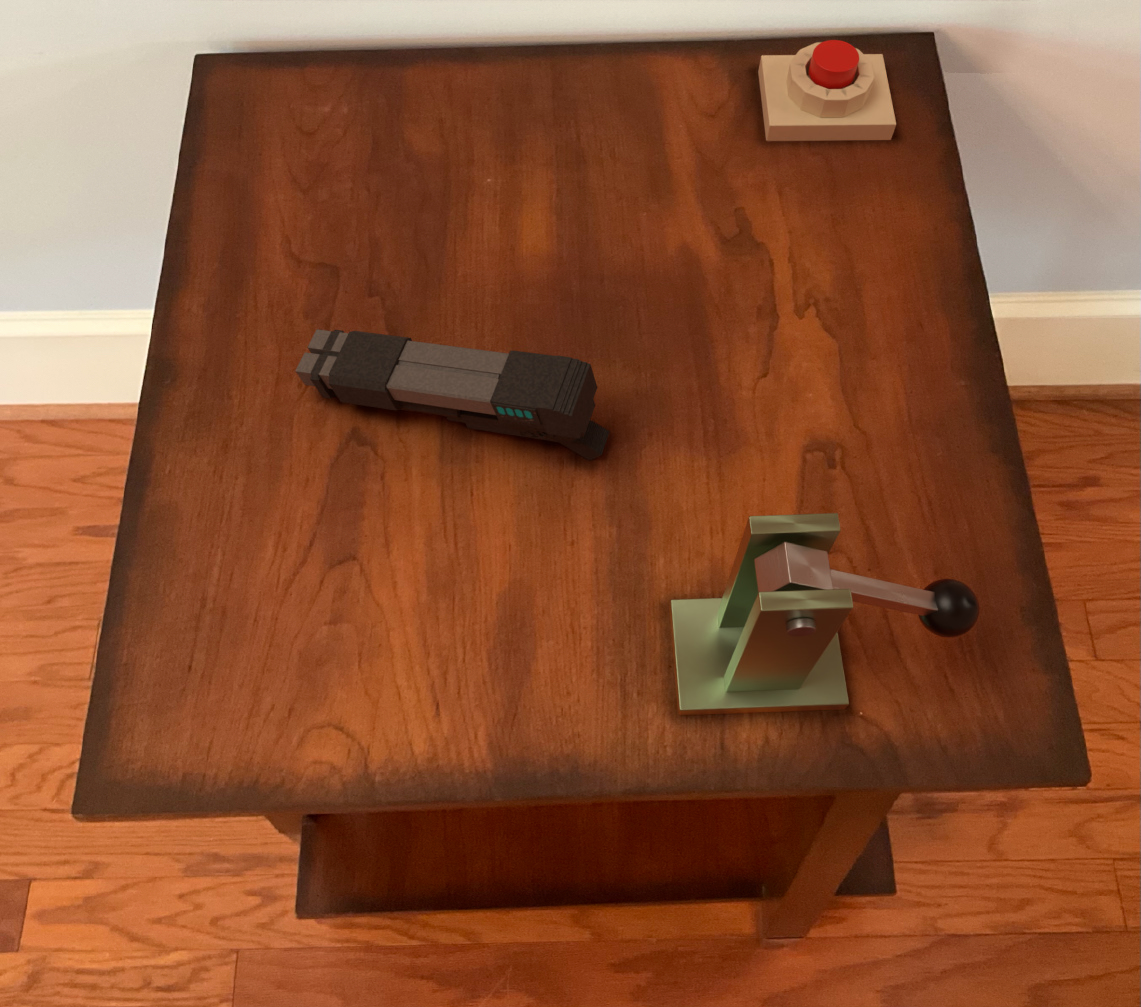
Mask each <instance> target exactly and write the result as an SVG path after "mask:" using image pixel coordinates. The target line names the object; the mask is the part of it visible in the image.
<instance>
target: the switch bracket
mask: <svg viewBox="0 0 1141 1007" xmlns="http://www.w3.org/2000/svg"><path fill="white" fill-rule="evenodd" d="M839 517H840V516H839V514H838V512H827V513H825V512H823V513H800V514H799V513H798V514H771V515H769V514H768V515H749V516H748V519H747V522H746V524H745V527H744V531H743V534H742V538H741V540H740V543H739V546H738V549H737V552H736V555H735V559H734V561H733V565H732V567H731V570H730V573H729V575H728V576H729V577H728V579H727V582H726V585H725V589H724V592H723V594H722V597H705V598H703V597H702V598H676V599H675V598H673V599H670V600H669V604H668V608H669V610H668V611H669V621H670V623H669V624H670V634H671V646H672V648H671V649H672V659H673V670H674V671H673V672H674V682H675V684H674V685H675V695H676V708H677V709H676V710H677V716H701V715H703V716H704V715H726V714H727V715H729V714H732V715H733V714H757V713H758V714H759V713H783V712H784V713H786V712H814V711H839V710H841V711H842V710H846V709H847V707H848V706H849V705H850V701H849V700H850V699H849V695H848V694H849V693H848V688H847V682H846V681H847V680H846V675H845V670H844V669H845V668H844V662H843V657H842V650H841V644H840V638H839V630H840V628H841V627H842V625H843V624H844V623H845V621H846V620H847V618H848V616H849V615H850V614H851V612H852V610H853V609H854V602H853V601H852V595H851V590H850V589H824V590H796V591H768V592H758V585H757V577H756V569H755V558H757V557H759V556H760V555H762V554H764V553H766V552H767V551H769V550H771V549H773V548H774V547H776V546H778V545H780V544H781V543H783V542H789V543H793V544H798V545H802V546H806V547H810V548H815V549H819V550H823V551H827V552H828V555H829V554H830V552H831V550H832V548H833V546H834V544H835V543H836V540H837V539H838V536H839V535H840V533H841V524H840V519H839Z"/></svg>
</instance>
